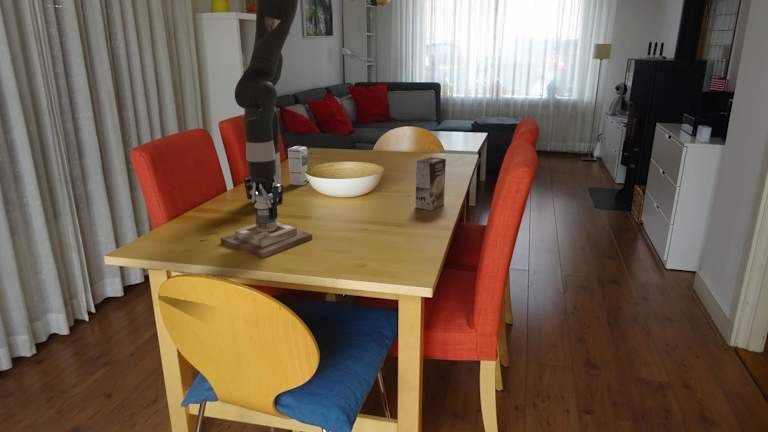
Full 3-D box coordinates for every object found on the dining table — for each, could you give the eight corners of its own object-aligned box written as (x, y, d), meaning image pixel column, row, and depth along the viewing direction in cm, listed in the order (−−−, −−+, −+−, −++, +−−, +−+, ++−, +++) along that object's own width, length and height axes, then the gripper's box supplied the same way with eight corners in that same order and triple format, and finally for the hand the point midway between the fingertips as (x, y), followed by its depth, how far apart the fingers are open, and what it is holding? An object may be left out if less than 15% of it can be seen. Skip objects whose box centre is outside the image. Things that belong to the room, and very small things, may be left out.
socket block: (220, 243, 148) (219, 231, 147) (270, 226, 161) (270, 215, 160) (262, 258, 137) (261, 245, 136) (312, 238, 150) (311, 227, 149)
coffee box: (431, 211, 175) (432, 163, 170) (414, 207, 178) (415, 161, 173) (444, 204, 182) (446, 158, 177) (428, 201, 186) (429, 156, 180)
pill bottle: (257, 226, 150) (254, 192, 147) (278, 225, 151) (275, 191, 148) (254, 232, 145) (251, 198, 142) (276, 232, 146) (273, 197, 142)
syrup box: (303, 185, 206) (301, 149, 202) (289, 184, 208) (287, 148, 204) (309, 182, 212) (307, 146, 207) (296, 181, 213) (294, 145, 209)
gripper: (289, 158, 140) (293, 218, 145) (254, 152, 149) (259, 209, 154) (267, 163, 135) (272, 225, 140) (232, 156, 143) (238, 215, 148)
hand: (265, 216), depth 147 cm, fingers closed on pill bottle, 5 cm apart
